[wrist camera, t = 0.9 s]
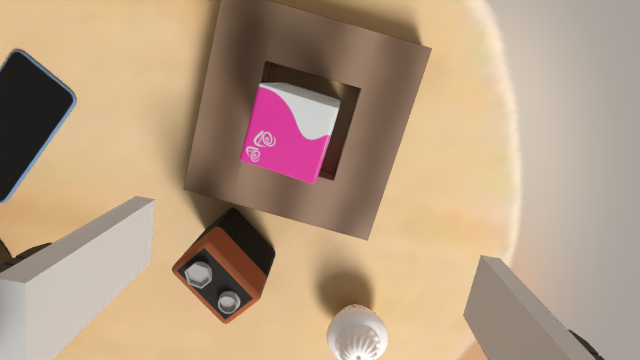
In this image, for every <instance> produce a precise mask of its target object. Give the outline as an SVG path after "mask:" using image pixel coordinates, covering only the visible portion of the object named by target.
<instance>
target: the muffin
mask: <svg viewBox="0 0 640 360" xmlns="http://www.w3.org/2000/svg"><path fill="white" fill-rule="evenodd" d="M327 342H328V346H329V348H330V350H331V351H332V353H333V354H334V355H335V357H336V358H338V359H339V360H376V359H377V358H378V357H380V356H381V355H382V353H383V352H384V351H385V349H386V346H387V343H388V332H387V328H386V326H385V324H384V322H383V321H382V320H381V318H380V317H379V316H378V315H376V313H375V312H373V311H372V310H371V309H369V308H367V307H365V306H363V305H359V304H351V305H348V306H346V307H345V308H343V309H342V310H341V311H340V312H338V313H337V314H336V316H335V317H334V318H333V319H332V321H331V322H330V324H329V327H328V330H327Z"/></svg>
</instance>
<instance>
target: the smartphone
mask: <svg viewBox="0 0 640 360" xmlns="http://www.w3.org/2000/svg"><path fill="white" fill-rule="evenodd" d="M76 102H77V98H76V95H75V94H74V92H73V91H72V90H71V89H70V88H68V87H67V86H66V85H64V84H63V83H62V82H61V81H60V80H58V79H57V78H56V77H55V76H54V75H53V74H51V73H49V72H48V71H47V70H46V69H45V68H44V67H43V66H42V65H40V64H39V63H38V62H36V60H34V59H33V58H31V56H29V55H28V54H27V53H25V52H23V51H20V50H16V51H14V52H12V53H11V54H10V55H9V57H8V58H7V60H6V62H5V63H4V65H3V66H2V68H1V69H0V203H4V202H6V201H8V200H9V199H10V198H11V196H12V195H13V193H14V192H15V190H16V189H17V188H18V186H19V185H20V183H21V182H22V181H23V179H24V178H25V176H26V175H27V173H28V172H29V171H30V169H31V168H32V166H33V165H34V164H35V162H36V161H37V159H38V158H39V156H40V155H41V154H42V152H43V151H44V149H45V148H46V146H47V145H48V144H49V142H50V141H51V139H52V138H53V137H54V135H55V134H56V132H57V131H58V129H59V128H60V127H61V125H62V124H63V122H64V121H65V120H66V118H67V117H68V115H69V114H70V112H71V111H72V110H73V108H74V107H75V105H76Z"/></svg>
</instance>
